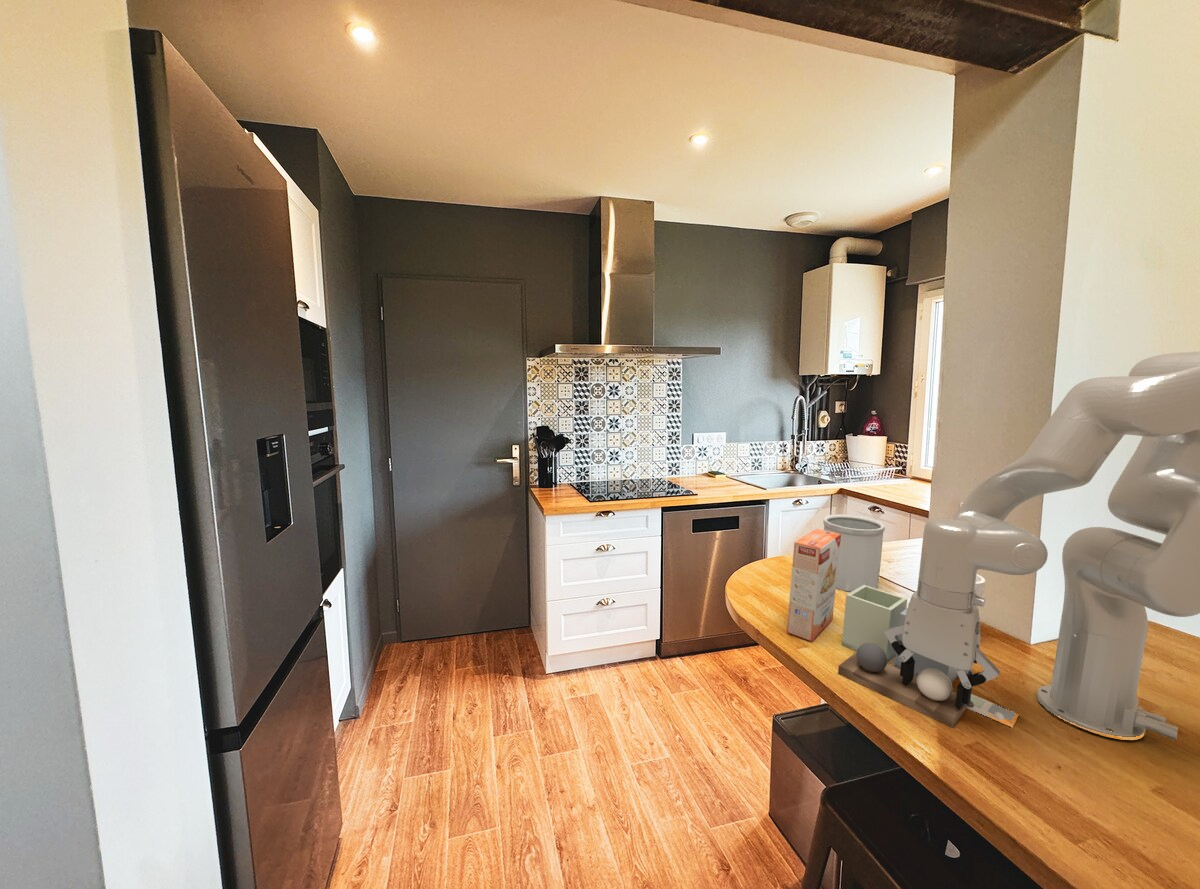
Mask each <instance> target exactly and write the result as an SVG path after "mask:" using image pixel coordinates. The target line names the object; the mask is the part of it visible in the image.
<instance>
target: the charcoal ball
mask: <svg viewBox="0 0 1200 889" xmlns="http://www.w3.org/2000/svg"><path fill="white" fill-rule="evenodd" d="M855 653H856V657H857V661H858V663H859V664H860V665H861V667H863V668H864V669H865V670H867V671H869V672H880V671H882V670H883V669H884V668H885V667H886V665H887V664H888V662H887V656H886V654H885V652H884V651H883V649H882V648H880V647H879V646H878V645H876V644H873V643H865V644H862V645H861V646H860V647H859V648H858V649H857V651H855Z"/></svg>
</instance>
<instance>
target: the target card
mask: <svg viewBox="0 0 1200 889" xmlns="http://www.w3.org/2000/svg"><path fill="white" fill-rule="evenodd" d="M995 704H996V703H993V702H992V701H989V700H987V699H984V698H982V697H980V696H977V695H975V694H973V693H971V699H970V703H969V705H968V706H967V709H966V710H969V711H972V712H974V713H976V712H977V713H976V714H978V713H979V714H978V715H980V714H982V715H981V716H983V715H984V717H985V716H987V717H990V718H996V719H998V720H1004V718H1005V719H1007V720H1010V721H1011V720H1012V719H1013V717H1014V715H1015V714H1016V713H1017V712H1016V713H1014V712H1015V711H1013V710H1011V711H1009V710H1010V709H1008V708H1006V709H1004V708H1005V707H1004V708H1002V707H1003V706H1001V705H999V706H997V705H998V704H996V705H995ZM1000 706H1001V707H1000ZM1007 709H1008V710H1007ZM989 714H993V716H994V717H991V716H989ZM987 717H986V718H987ZM990 718H989V719H990Z"/></svg>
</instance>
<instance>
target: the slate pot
mask: <svg viewBox="0 0 1200 889" xmlns="http://www.w3.org/2000/svg"><path fill="white" fill-rule="evenodd" d="M907 609H908V607H906V610H904V611H903V612H902V613H900V620H899V625H901V624H904V621H905V617H906V613H907ZM898 639H899V640H900V641H901V642H902V634H899V635H898ZM912 656H913V658H914V660H915V666H914V675H915V676H918V674H919V672H920V671H922V670H923V669H926V668H934V669H937V670H940V671H941V672H943V673H944V674H945V675H947V677H948V678H949V679H950V681H951V683H952V684H953V682H954V681H955V680H956V679H957V677H959V676H958V674H957V672H956V669H954V668H952V667H949V666H946V665H944V664H941V663H939V662H936V661H934V660H931V659H929V658H926V657H924V656H921V655H919V654H916V653H914V654H913V655H912ZM894 667H896V668H898V669H901V661H900V660H899V655H898V654H897V653H896V655H895V661H894Z"/></svg>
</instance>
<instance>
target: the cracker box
mask: <svg viewBox="0 0 1200 889" xmlns="http://www.w3.org/2000/svg"><path fill="white" fill-rule="evenodd" d="M840 541H841V534H838V533H835V532H830V531H824V529H819V528H815V529H814V530H812V531H810V532H809V533H807V534H806V535H804V536H802V537H800V538H798V539H797V540H795V541H794V543H793V556H792V567H791V577H790V578H791V579H790V590H789V601H788V612H787V613H788V614H787V623H786V624H787V626H786V633H788V634H790V635H792V636H795V637H799V638H801V639H804V640H806V641H809V642H811V643H812V642H814V640H815V639H816V638H817V637H818V636H819V634H821V632H822V631H823V630H824V629H825V628H826V627H827V626H828V625H829V624H830V623H831V622H832V621H833V618H834V609H835V608H834V606H835V598H836V589H837V588H836V580H837V570H838V560H839V551H840Z"/></svg>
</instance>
